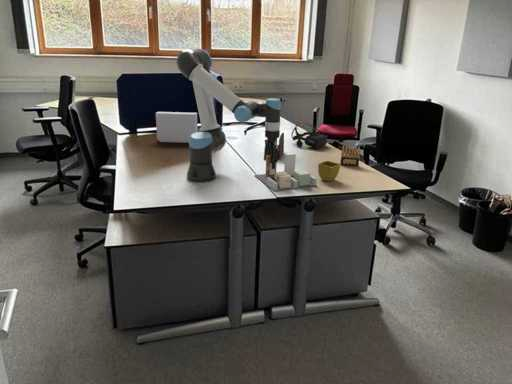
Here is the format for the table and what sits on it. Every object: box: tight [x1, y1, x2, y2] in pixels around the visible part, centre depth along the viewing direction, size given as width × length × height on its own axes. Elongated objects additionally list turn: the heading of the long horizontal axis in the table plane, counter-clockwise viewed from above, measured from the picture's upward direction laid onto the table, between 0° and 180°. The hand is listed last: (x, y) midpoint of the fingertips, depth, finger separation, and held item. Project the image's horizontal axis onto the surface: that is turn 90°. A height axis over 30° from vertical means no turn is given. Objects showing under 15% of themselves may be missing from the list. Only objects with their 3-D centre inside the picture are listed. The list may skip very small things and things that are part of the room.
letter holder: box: [263, 132, 285, 162], centre depth 264 cm, size 10×20×14 cm, turn 169°
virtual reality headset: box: [291, 122, 328, 150], centre depth 290 cm, size 19×24×15 cm
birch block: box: [265, 155, 291, 189], centre depth 216 cm, size 18×6×12 cm, turn 23°
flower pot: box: [317, 160, 342, 182], centre depth 224 cm, size 9×9×9 cm
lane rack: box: [254, 171, 318, 192], centre depth 222 cm, size 25×24×4 cm
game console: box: [155, 111, 199, 144], centre depth 291 cm, size 6×27×20 cm, turn 89°
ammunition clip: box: [339, 145, 361, 168], centre depth 248 cm, size 11×2×12 cm, turn 78°
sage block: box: [283, 152, 312, 186], centre depth 220 cm, size 18×6×12 cm, turn 23°
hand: (270, 173), depth 224 cm, fingers closed on birch block, 2 cm apart
